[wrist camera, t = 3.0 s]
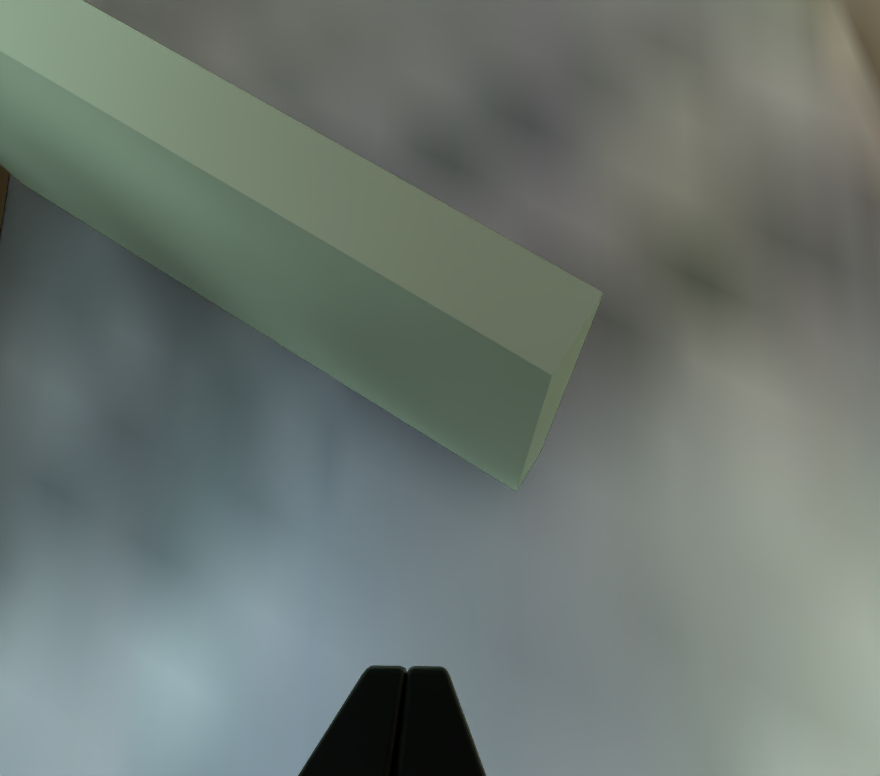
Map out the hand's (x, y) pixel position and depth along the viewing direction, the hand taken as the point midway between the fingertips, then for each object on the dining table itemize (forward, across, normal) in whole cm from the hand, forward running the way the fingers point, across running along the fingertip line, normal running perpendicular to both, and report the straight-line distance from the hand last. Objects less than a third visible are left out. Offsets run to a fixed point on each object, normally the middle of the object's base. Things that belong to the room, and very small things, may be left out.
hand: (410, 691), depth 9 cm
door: (+10, +4, 0) cm, 11 cm away
